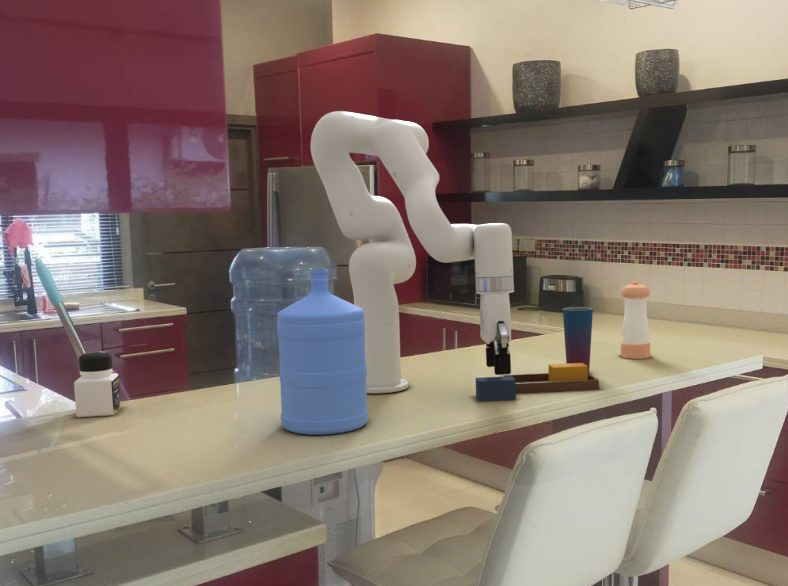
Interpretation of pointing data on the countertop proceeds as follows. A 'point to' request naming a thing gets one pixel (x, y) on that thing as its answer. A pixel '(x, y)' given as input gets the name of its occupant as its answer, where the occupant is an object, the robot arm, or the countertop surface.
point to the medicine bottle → (96, 386)
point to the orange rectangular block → (568, 372)
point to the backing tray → (550, 383)
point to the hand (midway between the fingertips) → (498, 370)
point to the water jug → (322, 363)
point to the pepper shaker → (635, 322)
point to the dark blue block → (495, 388)
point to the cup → (578, 334)
